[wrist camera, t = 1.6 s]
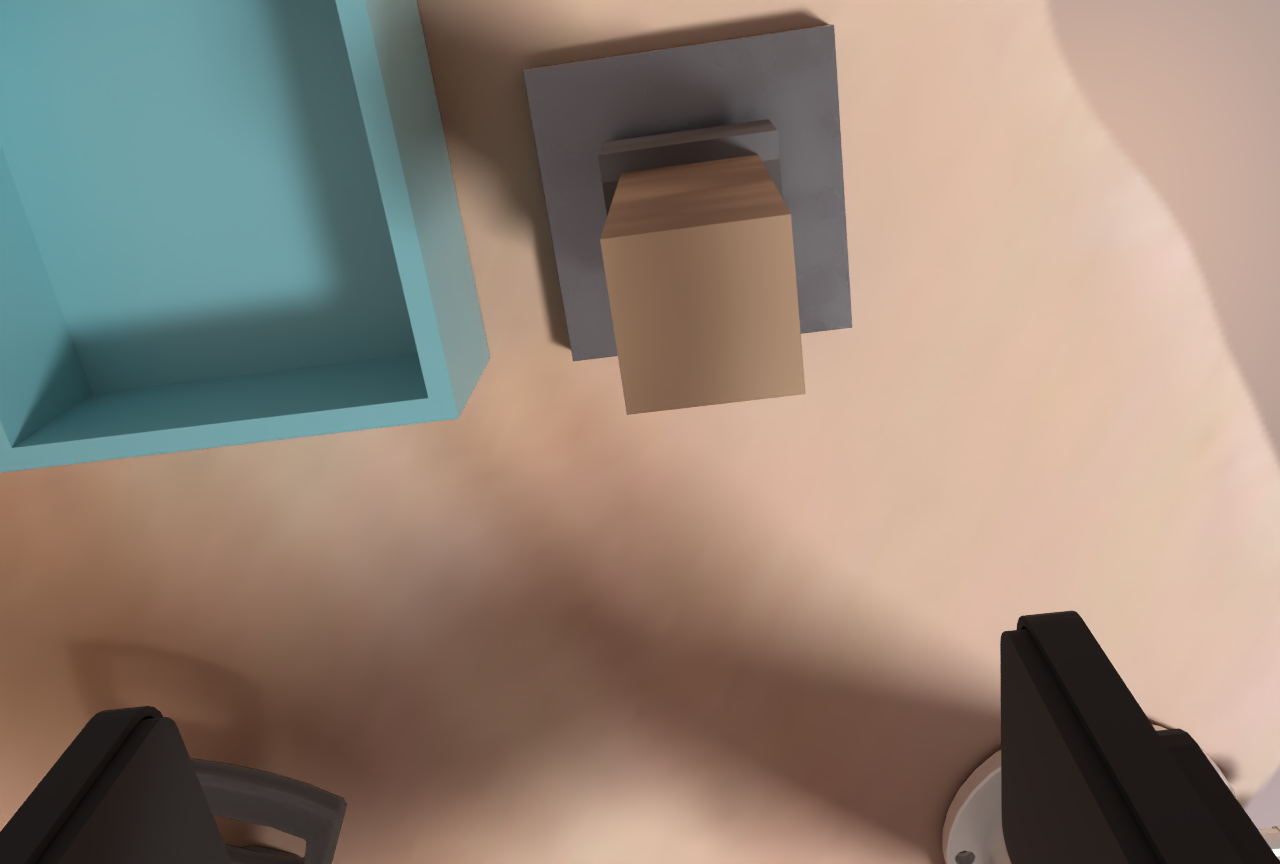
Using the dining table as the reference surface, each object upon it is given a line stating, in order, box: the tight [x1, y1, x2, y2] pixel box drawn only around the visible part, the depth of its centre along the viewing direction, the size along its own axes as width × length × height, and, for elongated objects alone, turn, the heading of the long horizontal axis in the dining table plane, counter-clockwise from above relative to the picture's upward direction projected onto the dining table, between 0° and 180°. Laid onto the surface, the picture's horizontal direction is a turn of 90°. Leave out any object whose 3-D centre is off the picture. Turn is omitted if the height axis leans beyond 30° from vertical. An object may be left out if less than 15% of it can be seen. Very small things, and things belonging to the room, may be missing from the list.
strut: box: [598, 119, 805, 415], centre depth 27 cm, size 5×5×12 cm
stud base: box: [523, 24, 852, 361], centre depth 33 cm, size 10×10×6 cm
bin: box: [0, 0, 490, 473], centre depth 33 cm, size 16×16×6 cm
